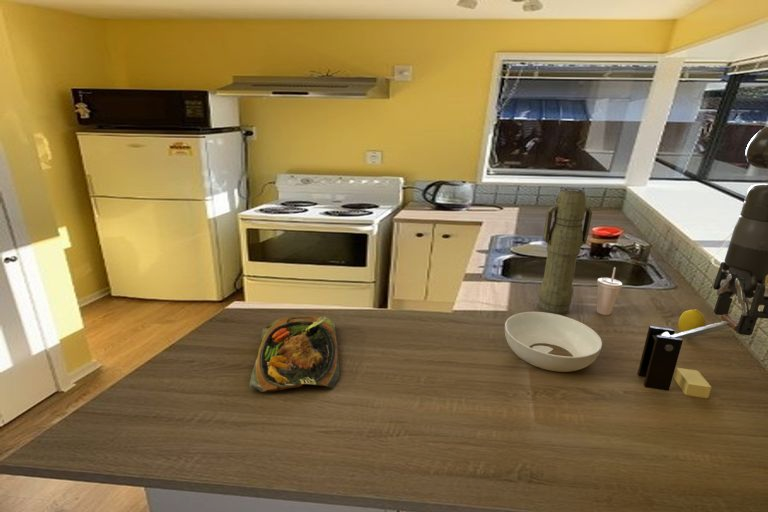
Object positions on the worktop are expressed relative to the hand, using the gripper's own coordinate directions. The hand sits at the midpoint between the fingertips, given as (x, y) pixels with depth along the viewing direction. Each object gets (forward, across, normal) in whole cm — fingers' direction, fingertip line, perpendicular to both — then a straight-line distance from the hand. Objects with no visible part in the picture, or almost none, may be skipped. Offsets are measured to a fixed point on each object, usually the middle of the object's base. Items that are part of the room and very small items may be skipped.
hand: (731, 323), depth 82 cm
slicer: (+16, 0, +10) cm, 20 cm away
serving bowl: (+17, +6, +30) cm, 35 cm away
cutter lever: (+4, 0, +5) cm, 6 cm away
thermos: (+17, +36, +26) cm, 47 cm away
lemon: (+16, +27, -6) cm, 32 cm away
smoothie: (+17, +37, +12) cm, 42 cm away
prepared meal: (+17, -9, +86) cm, 89 cm away
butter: (+16, 0, +4) cm, 17 cm away
